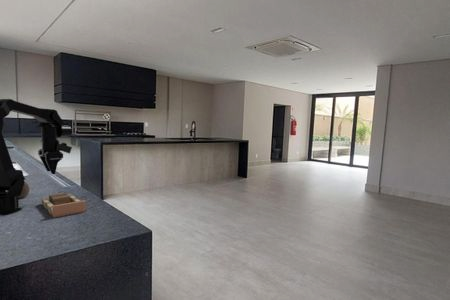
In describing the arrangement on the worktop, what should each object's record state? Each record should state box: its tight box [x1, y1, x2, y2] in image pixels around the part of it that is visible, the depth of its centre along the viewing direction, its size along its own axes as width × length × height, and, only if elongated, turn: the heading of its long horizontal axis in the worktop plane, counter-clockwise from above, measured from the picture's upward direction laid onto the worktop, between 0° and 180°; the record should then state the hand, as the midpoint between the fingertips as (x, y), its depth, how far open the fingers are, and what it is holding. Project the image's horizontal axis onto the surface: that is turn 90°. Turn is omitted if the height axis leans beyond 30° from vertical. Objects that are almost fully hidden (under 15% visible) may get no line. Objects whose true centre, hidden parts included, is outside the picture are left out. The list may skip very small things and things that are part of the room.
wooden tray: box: [41, 193, 81, 217], centre depth 111 cm, size 20×11×2 cm, turn 43°
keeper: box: [48, 192, 70, 205], centre depth 114 cm, size 8×6×4 cm
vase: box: [17, 181, 30, 200], centre depth 123 cm, size 7×7×9 cm
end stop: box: [52, 199, 87, 218], centre depth 103 cm, size 2×11×4 cm, turn 133°
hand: (51, 172), depth 123 cm, fingers open, 9 cm apart
